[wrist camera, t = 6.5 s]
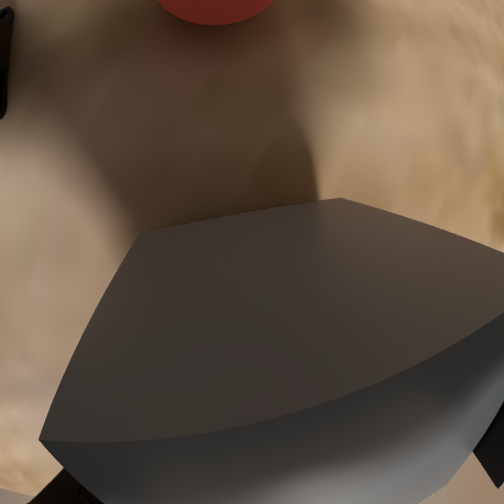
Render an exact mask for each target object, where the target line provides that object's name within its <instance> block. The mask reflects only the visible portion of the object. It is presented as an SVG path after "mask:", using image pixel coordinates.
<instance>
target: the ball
mask: <svg viewBox="0 0 504 504" xmlns="http://www.w3.org/2000/svg"><path fill="white" fill-rule="evenodd" d="M157 1H158V2H159V3H160V4H161V5H162V6H163V7H164V8H165V9H166V10H167V11H169V12H170V13H171V14H173V15H175V16H176V17H179V18H181V19H183V20H186V21H189V22H193V23H197V24H203V25H224V24H231V23H236V22H240V21H243V20H246V19H248V18H250V17H252V16H255V15H256V14H258V13H260V12H262V11H263V10H264V9H266V8H267V7H268V6H269V5H271V4H272V3H273V2H274V1H275V0H157Z"/></svg>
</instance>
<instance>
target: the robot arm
mask: <svg viewBox="0 0 504 504" xmlns="http://www.w3.org/2000/svg"><path fill="white" fill-rule="evenodd" d="M5 15H6V16H5ZM4 16H5V17H4ZM13 17H14V10H13V9H12V8H10V7H6V8H4V9H2V10H0V119H2V118H3V116H4V115H5V112H6V107H7V100H6V98H7V71H8V68H9V55H10V45H11V36H12V23H13ZM473 453H474V454H475V456H476V457H477V459H478V460H479V462H480V463H481V465H482V466H483V468H484V469H485V471H486V472H487V474H488V475H489V477H490V478H491V480H492V482H493V483H494V484H495V486H496V487H497V488H498V489H499V488H500V487H501V486H502V485H503V484H504V401H503V403H502V405H501V407H500V409H499V410H498V412H497V414H496V415H495V417H494V419H493V421H492V422H491V424H490V425H489V427H488V429H487V430H486V432H485V433H484V435H483V436H482V438H481V439H480V441H479V442H478V444H477V445H476V447H475V448H474V450H473ZM27 504H104V503H102V502H101V501H100V500H99V499H98V498H96V497H95V496H94V495H93V494H92V493H91V492H89V491H88V490H87V489H86V488H85V487H84V486H83V485H82V484H81V483H79V482H78V481H77V480H76V479H75V478H74V477H73V476H72V475H71V474H70V473H69V472H68V471H67V470H66V469H65V468H63V469H62V470H61V471H60V472H59V473H58V475H57V476H56V477H55V478H54V479H53V480H52V481H51V482H50V483H49V484H48V485H47V486H46V487H45V488H44V489H43V490H42V491H41V492H40V493H39V494H38V495H36V496H35V497H34V498H33V499H32V500H31V501H30V502H29V503H27Z"/></svg>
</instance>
